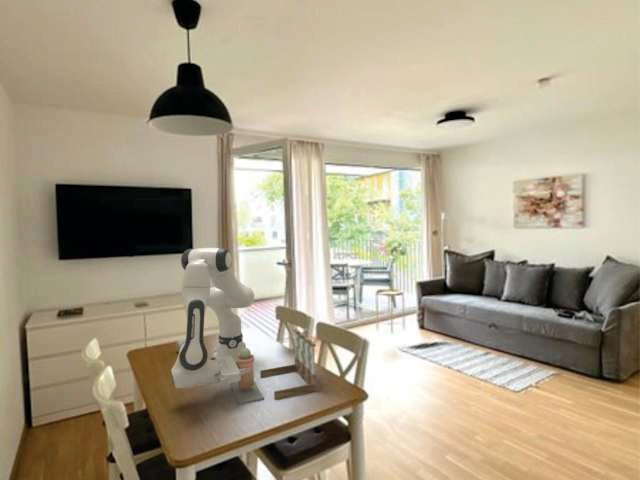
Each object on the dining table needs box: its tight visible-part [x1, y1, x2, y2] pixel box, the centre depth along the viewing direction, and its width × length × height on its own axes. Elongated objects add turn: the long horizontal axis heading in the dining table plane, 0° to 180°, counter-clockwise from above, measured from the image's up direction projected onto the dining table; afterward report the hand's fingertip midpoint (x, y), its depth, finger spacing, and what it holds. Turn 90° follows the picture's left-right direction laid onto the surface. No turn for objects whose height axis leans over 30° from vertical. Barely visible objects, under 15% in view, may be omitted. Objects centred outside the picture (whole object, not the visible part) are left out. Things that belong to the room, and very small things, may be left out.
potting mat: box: [230, 380, 265, 405], centre depth 156 cm, size 20×10×1 cm, turn 23°
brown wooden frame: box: [259, 328, 317, 401], centre depth 163 cm, size 24×18×20 cm
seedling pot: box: [237, 347, 255, 388], centre depth 156 cm, size 7×7×16 cm
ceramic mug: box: [175, 337, 186, 354], centre depth 205 cm, size 11×8×8 cm
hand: (247, 366), depth 156 cm, fingers closed on seedling pot, 6 cm apart
